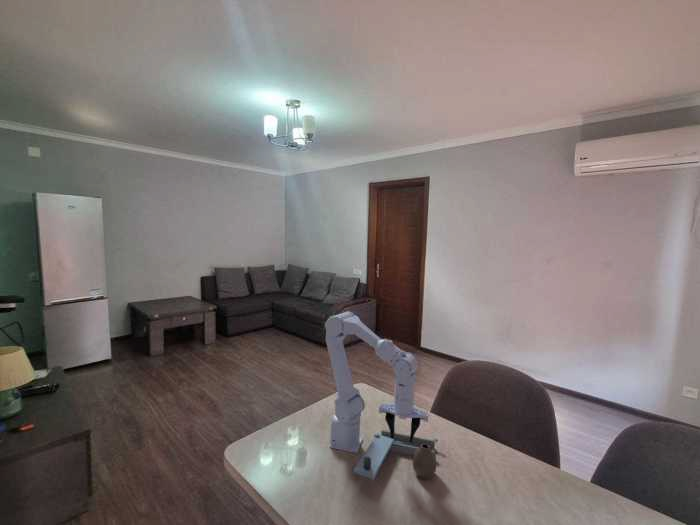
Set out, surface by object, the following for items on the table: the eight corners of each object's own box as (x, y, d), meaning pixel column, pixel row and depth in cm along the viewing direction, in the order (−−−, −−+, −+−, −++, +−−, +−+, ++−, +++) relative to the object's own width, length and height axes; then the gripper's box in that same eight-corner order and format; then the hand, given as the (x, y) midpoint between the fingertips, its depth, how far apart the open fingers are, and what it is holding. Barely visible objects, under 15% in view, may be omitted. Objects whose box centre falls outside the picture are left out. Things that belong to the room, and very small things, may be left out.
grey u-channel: (373, 447, 104) (374, 437, 104) (377, 436, 111) (377, 426, 110) (436, 461, 99) (437, 450, 99) (436, 448, 105) (437, 437, 105)
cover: (375, 436, 106) (375, 426, 106) (393, 442, 103) (394, 431, 103) (352, 471, 89) (352, 459, 89) (373, 479, 87) (374, 467, 86)
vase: (436, 485, 90) (438, 455, 89) (411, 480, 91) (413, 451, 90) (434, 467, 96) (436, 440, 96) (412, 463, 98) (413, 437, 97)
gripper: (377, 397, 92) (375, 441, 93) (429, 406, 88) (426, 452, 89) (381, 386, 99) (379, 428, 100) (429, 394, 95) (426, 437, 96)
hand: (401, 438), depth 95 cm, fingers open, 5 cm apart
